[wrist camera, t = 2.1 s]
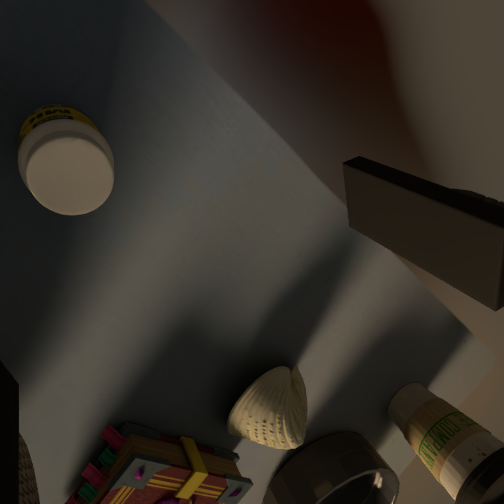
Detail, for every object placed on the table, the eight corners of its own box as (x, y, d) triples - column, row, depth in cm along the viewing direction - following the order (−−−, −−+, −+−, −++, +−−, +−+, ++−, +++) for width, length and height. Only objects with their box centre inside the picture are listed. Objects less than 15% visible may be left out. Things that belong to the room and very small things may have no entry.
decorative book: (175, 525, 49) (189, 569, 45) (41, 509, 39) (44, 563, 35) (236, 450, 48) (256, 487, 44) (115, 415, 39) (126, 459, 35)
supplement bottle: (63, 87, 26) (78, 105, 20) (114, 148, 29) (142, 183, 22) (-1, 134, 26) (-8, 170, 19) (57, 192, 29) (68, 241, 22)
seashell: (325, 370, 46) (316, 450, 44) (255, 357, 50) (244, 430, 48) (297, 368, 39) (285, 462, 37) (219, 353, 43) (204, 438, 41)
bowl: (350, 407, 55) (385, 446, 50) (377, 467, 65) (408, 505, 59) (239, 492, 52) (263, 544, 47) (284, 542, 62) (309, 589, 56)
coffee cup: (430, 359, 58) (536, 444, 46) (433, 402, 64) (529, 487, 52) (372, 399, 56) (469, 498, 44) (381, 439, 62) (469, 538, 50)
